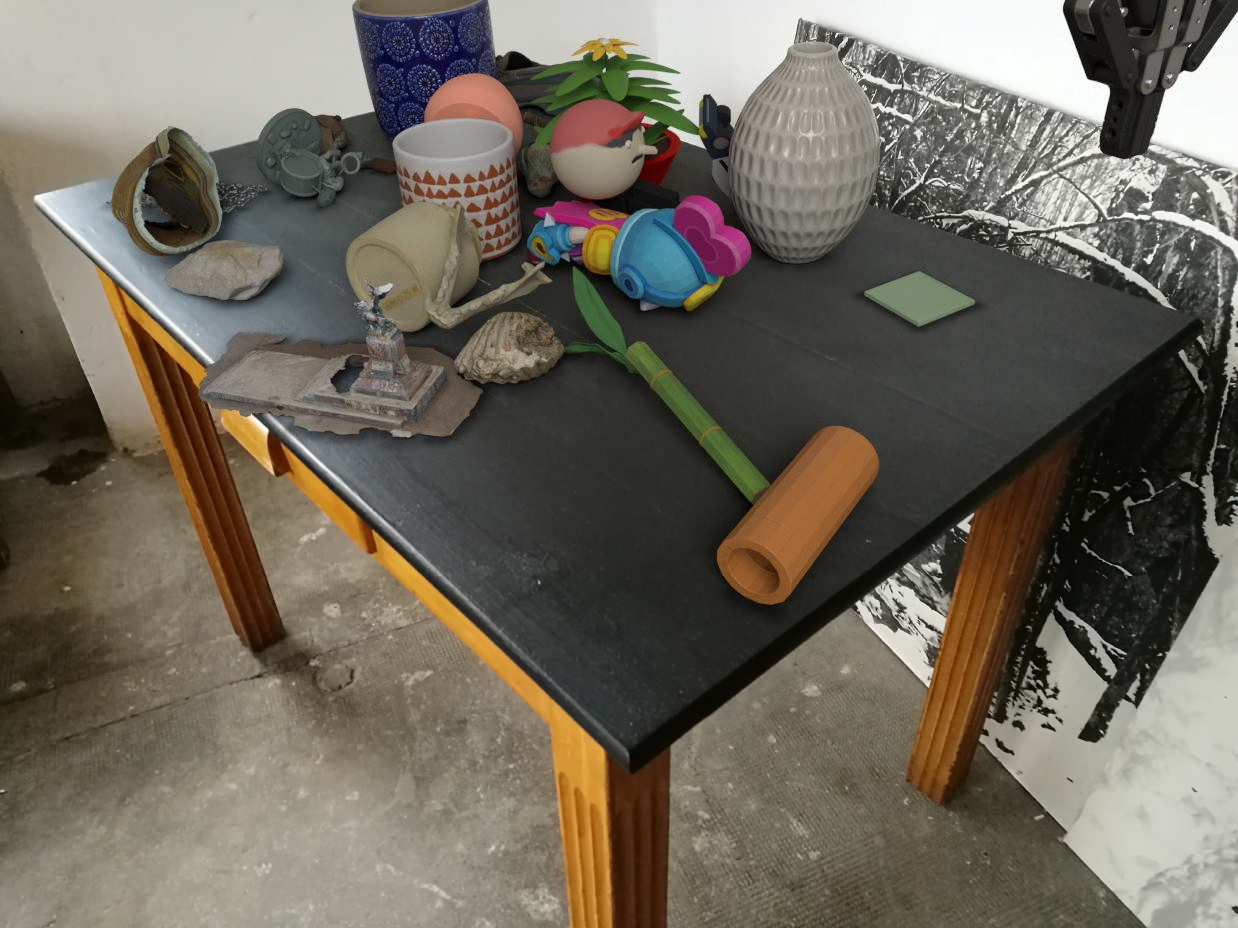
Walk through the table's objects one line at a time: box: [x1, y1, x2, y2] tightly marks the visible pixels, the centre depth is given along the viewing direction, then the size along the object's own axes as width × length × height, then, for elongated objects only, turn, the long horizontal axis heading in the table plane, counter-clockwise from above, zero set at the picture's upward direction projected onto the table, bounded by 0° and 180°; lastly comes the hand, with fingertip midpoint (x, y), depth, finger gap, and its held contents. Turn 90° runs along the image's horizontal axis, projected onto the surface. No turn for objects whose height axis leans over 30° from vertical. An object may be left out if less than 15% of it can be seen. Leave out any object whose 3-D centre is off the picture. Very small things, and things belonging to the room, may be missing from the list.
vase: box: [728, 41, 881, 264], centre depth 99 cm, size 16×16×22 cm
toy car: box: [698, 93, 734, 200], centre depth 110 cm, size 5×16×5 cm
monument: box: [197, 278, 484, 439], centre depth 85 cm, size 30×16×13 cm, turn 73°
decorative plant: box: [563, 265, 772, 506], centre depth 81 cm, size 6×8×30 cm
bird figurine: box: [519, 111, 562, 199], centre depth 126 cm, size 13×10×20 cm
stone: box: [164, 239, 285, 301], centre depth 104 cm, size 14×6×10 cm
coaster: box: [863, 270, 976, 328], centre depth 96 cm, size 8×8×1 cm
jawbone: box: [425, 203, 553, 330], centre depth 87 cm, size 12×13×8 cm
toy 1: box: [550, 99, 658, 199], centre depth 97 cm, size 10×12×10 cm
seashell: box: [454, 311, 565, 385], centre depth 87 cm, size 11×7×10 cm
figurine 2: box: [313, 114, 348, 161], centre depth 139 cm, size 14×4×9 cm
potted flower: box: [530, 37, 699, 203], centre depth 111 cm, size 24×25×20 cm
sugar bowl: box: [345, 202, 482, 333], centre depth 98 cm, size 15×11×15 cm
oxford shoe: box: [110, 125, 224, 257], centre depth 113 cm, size 28×10×11 cm
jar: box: [716, 425, 880, 606], centre depth 68 cm, size 6×6×15 cm
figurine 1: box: [254, 107, 366, 208], centre depth 123 cm, size 11×11×12 cm
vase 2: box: [392, 118, 523, 263], centre depth 108 cm, size 14×14×13 cm
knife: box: [360, 156, 397, 174], centre depth 126 cm, size 28×1×5 cm
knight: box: [526, 194, 752, 312], centre depth 96 cm, size 12×14×30 cm
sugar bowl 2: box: [424, 73, 524, 157], centre depth 115 cm, size 12×14×10 cm
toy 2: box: [592, 178, 682, 215], centre depth 104 cm, size 8×4×15 cm
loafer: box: [496, 50, 604, 117], centre depth 148 cm, size 11×30×9 cm, turn 59°
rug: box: [105, 181, 268, 217], centre depth 126 cm, size 10×20×1 cm, turn 72°
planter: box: [351, 0, 498, 147], centre depth 129 cm, size 18×18×21 cm
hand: (1122, 153), depth 55 cm, fingers closed
